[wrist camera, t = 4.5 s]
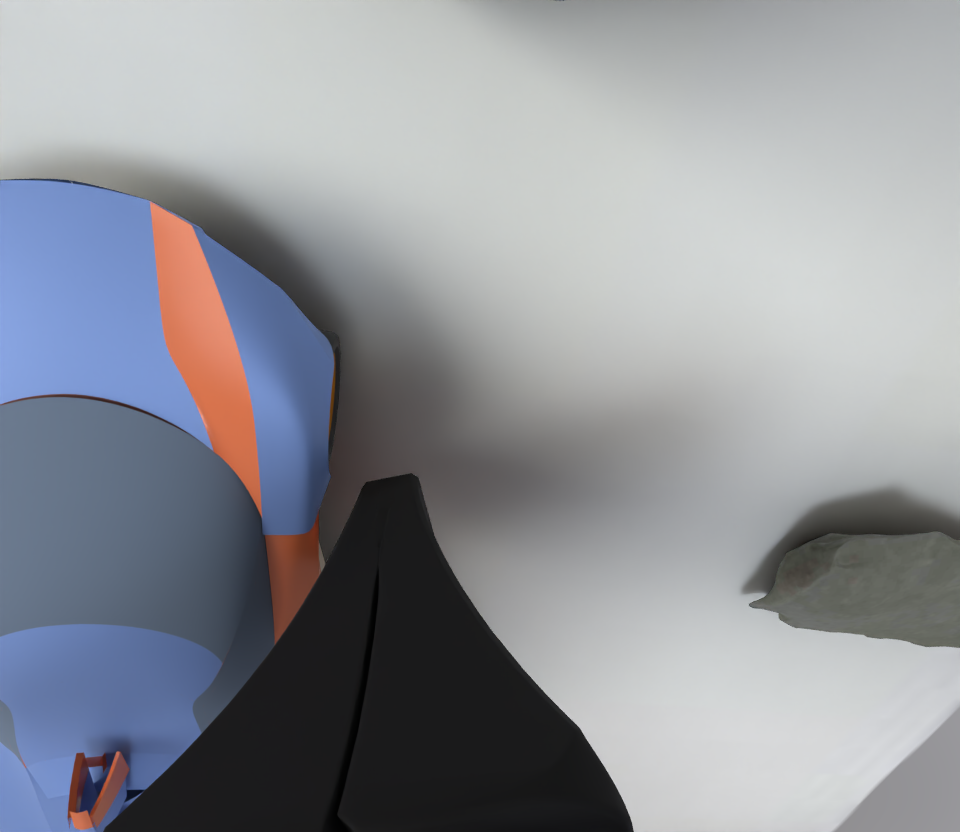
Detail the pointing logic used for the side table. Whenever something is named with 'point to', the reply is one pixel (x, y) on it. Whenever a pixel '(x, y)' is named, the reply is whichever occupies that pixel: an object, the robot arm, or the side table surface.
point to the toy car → (141, 491)
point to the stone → (872, 587)
